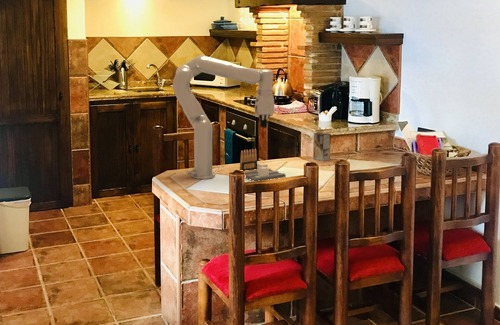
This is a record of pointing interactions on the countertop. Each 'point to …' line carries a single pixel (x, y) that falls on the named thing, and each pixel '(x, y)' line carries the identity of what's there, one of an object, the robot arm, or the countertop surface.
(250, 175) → the switch bank
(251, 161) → the ammunition clip
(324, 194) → the countertop surface
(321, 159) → the coffee box
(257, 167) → the tab
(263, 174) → the tab
